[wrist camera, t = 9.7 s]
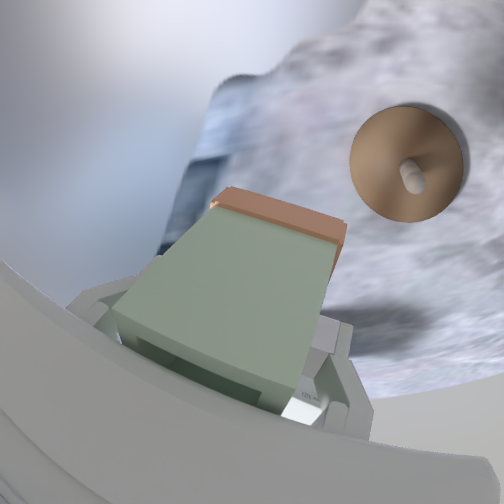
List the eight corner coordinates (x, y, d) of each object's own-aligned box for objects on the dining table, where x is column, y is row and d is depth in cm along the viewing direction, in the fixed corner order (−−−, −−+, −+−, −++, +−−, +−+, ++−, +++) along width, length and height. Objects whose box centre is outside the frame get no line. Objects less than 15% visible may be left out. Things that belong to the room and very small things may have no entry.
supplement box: (352, 333, 38) (337, 416, 28) (325, 359, 43) (305, 433, 33) (305, 309, 38) (278, 391, 29) (282, 339, 43) (253, 411, 33)
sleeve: (348, 219, 12) (307, 388, 6) (315, 308, 15) (265, 449, 9) (229, 183, 13) (104, 299, 7) (220, 274, 17) (136, 391, 10)
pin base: (473, 133, 20) (498, 149, 16) (435, 231, 27) (446, 265, 22) (365, 90, 22) (367, 93, 18) (337, 196, 29) (330, 224, 24)
